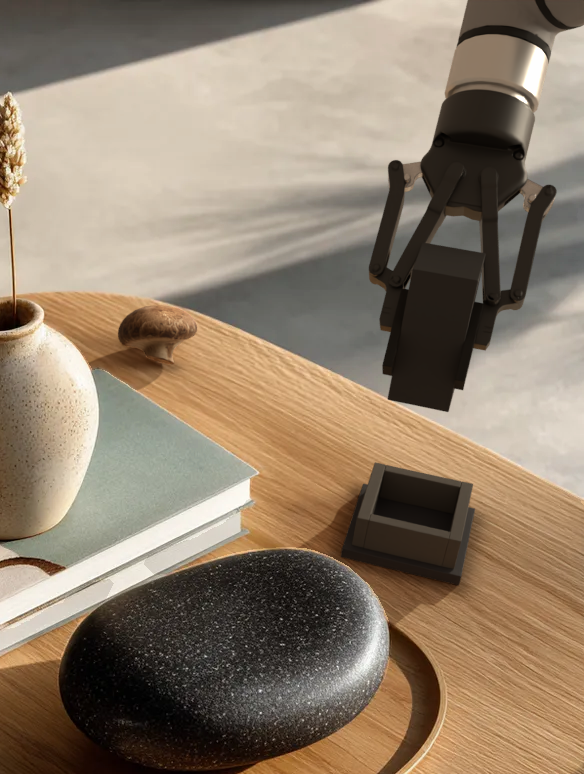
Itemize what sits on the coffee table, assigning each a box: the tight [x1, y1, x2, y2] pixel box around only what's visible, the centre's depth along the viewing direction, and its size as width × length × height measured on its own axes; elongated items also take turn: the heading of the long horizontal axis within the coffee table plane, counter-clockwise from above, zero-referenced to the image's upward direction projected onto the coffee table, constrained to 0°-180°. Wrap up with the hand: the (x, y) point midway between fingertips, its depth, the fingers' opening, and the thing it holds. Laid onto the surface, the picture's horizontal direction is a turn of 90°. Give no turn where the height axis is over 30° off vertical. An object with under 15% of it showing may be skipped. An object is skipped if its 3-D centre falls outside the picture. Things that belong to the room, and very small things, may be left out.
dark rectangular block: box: [387, 243, 486, 413], centre depth 108 cm, size 5×5×12 cm
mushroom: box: [117, 304, 198, 365], centre depth 137 cm, size 8×8×6 cm
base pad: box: [340, 462, 476, 586], centre depth 115 cm, size 10×10×4 cm
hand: (423, 377), depth 106 cm, fingers closed on dark rectangular block, 5 cm apart
